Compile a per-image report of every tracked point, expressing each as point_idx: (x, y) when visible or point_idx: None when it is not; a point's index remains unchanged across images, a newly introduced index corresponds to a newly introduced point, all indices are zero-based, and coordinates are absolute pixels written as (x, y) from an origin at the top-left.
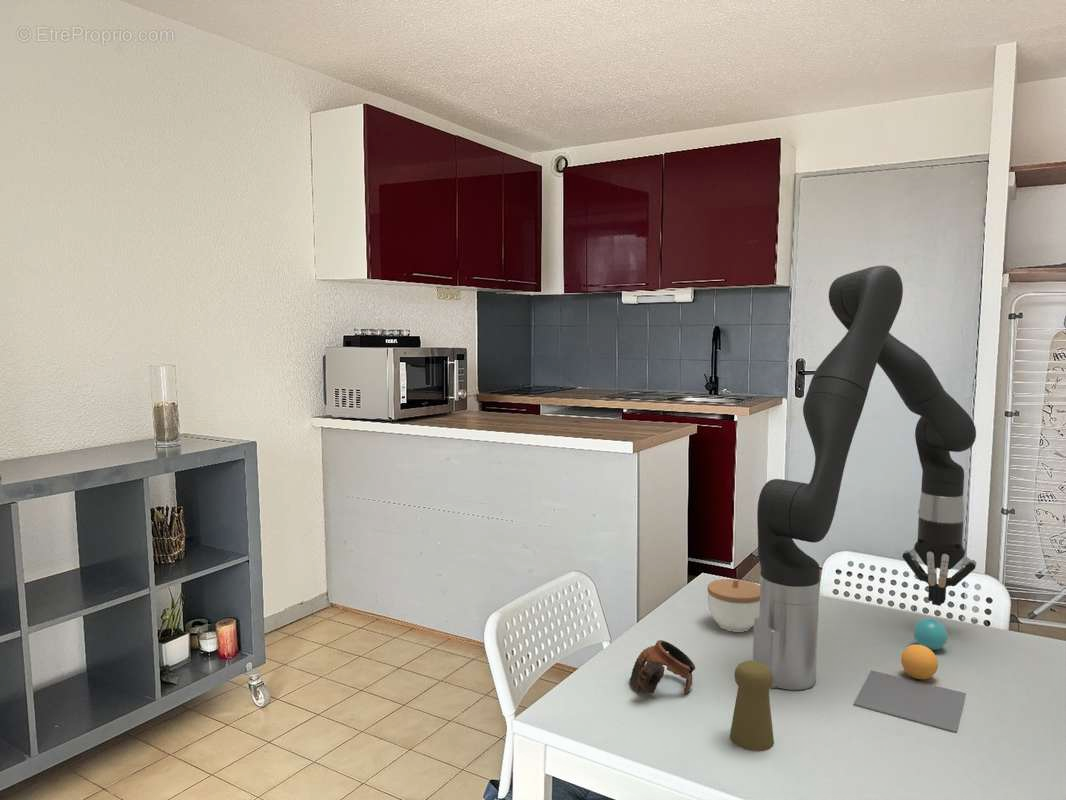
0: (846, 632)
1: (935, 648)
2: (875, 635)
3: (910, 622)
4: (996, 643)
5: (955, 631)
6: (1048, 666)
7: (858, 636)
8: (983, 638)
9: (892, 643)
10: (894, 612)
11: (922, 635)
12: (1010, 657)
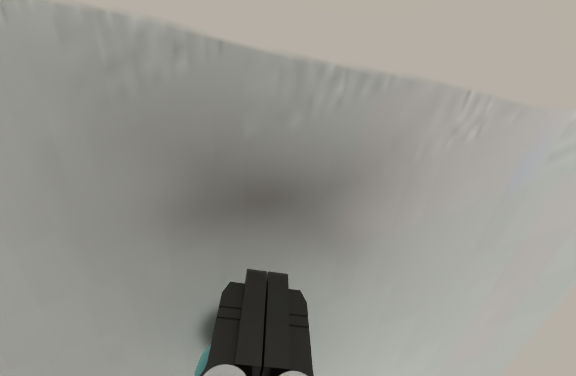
0: (20, 321)
1: None
2: (99, 311)
3: (180, 164)
4: (447, 239)
5: (338, 189)
6: (520, 328)
7: (60, 332)
8: (420, 214)
9: (153, 340)
10: (96, 62)
11: None
12: (445, 313)
